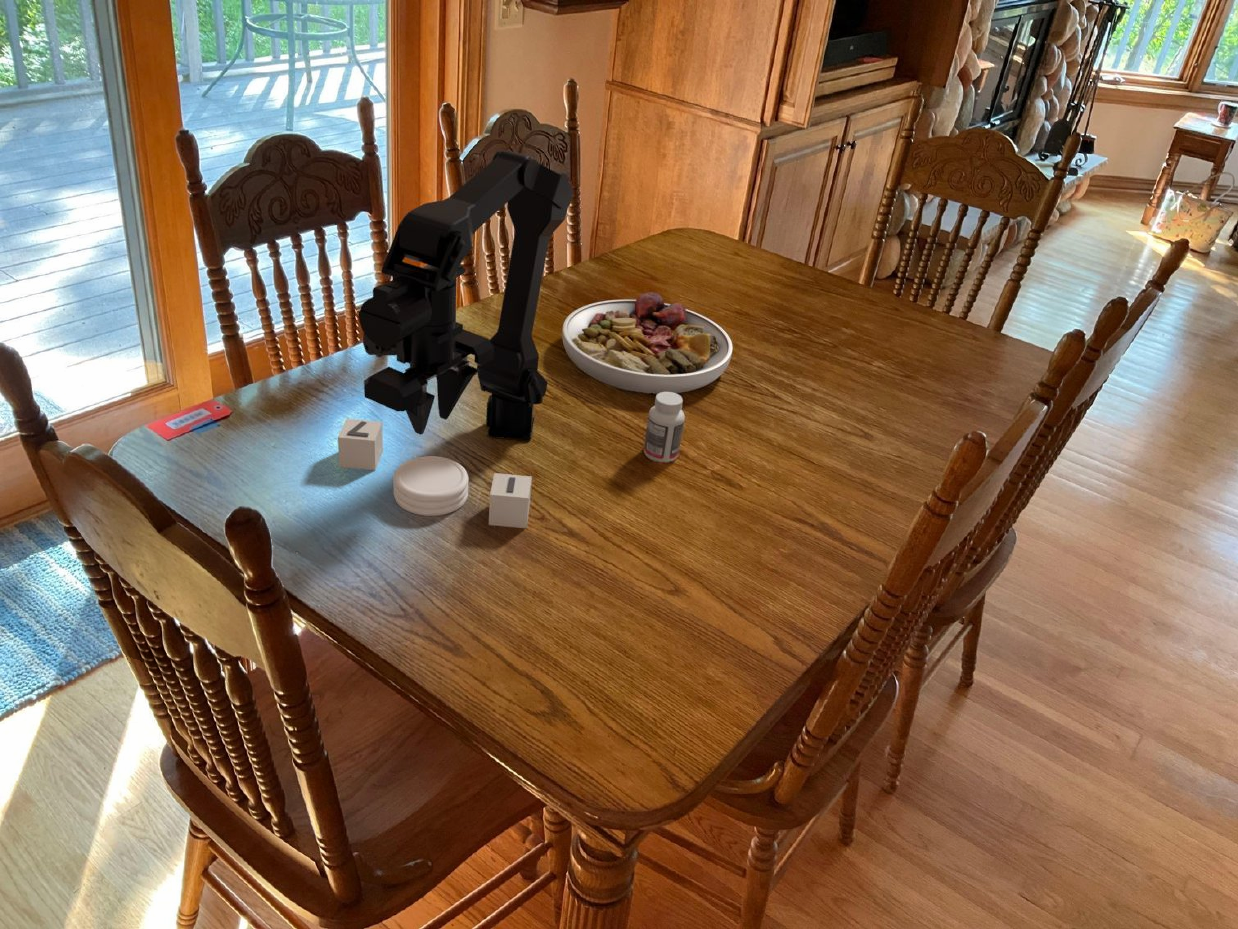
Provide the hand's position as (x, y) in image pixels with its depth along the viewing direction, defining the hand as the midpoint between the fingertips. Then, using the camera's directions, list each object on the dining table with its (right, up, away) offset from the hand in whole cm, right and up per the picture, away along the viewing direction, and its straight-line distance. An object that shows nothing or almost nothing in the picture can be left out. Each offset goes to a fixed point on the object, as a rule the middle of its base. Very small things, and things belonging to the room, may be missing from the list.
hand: (431, 425), depth 127 cm
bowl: (+29, +13, +47) cm, 57 cm away
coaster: (-1, -10, +6) cm, 12 cm away
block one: (+10, -12, +4) cm, 16 cm away
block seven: (-12, -4, +11) cm, 17 cm away
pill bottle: (+31, -4, +21) cm, 37 cm away
